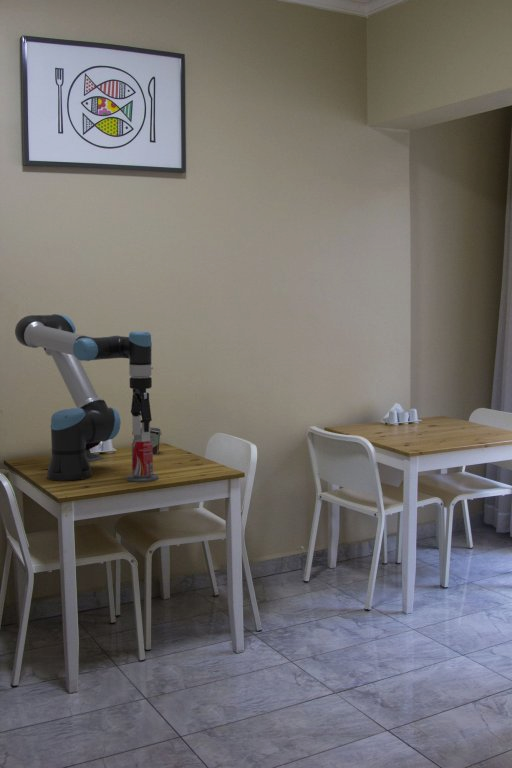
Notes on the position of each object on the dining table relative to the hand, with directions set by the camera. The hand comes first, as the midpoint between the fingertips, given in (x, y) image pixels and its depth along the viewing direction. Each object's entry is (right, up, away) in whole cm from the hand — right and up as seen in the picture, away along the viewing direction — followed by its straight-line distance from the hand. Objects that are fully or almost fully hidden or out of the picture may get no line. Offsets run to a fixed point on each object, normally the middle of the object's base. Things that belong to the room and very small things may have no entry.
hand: (141, 438), depth 294 cm
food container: (-3, -9, +50) cm, 50 cm away
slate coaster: (0, -14, +1) cm, 14 cm away
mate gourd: (-26, -11, +38) cm, 47 cm away
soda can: (0, -14, +1) cm, 14 cm away
